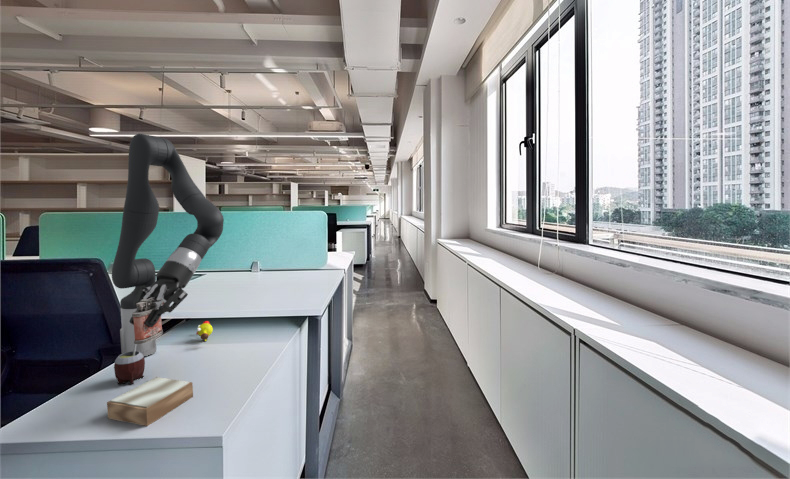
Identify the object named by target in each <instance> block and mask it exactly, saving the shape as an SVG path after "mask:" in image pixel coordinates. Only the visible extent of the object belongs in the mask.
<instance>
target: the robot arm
mask: <svg viewBox="0 0 790 479" xmlns="http://www.w3.org/2000/svg"><path fill="white" fill-rule="evenodd" d="M150 166H153V167H154V166H156V167H162V168H163V169H164V170H165V171H167V172H168V174H169V175H170V178H171V184H170V185H171V187H170V188H171V192H172V194H173V197H174V198H175V199H176V201H177V202H178V204H179V205H180V206H181V208H182V209H183V210H184V211H185V212H186V213H187V214H189V215H190V216H194V218H195V220H196V222H197V223H196V224H197V227H196V228H195V230H194V232H193V233H189V234H187V235H186V236H185V237H184V238H183V239H182V240H181V242H180V243H179V245H178V246H177V247H176V249H175V250H174V251H173V252H172V253H171V254H170V255H169V257H168V258H167V259H166V261H165V262H164V263H163V264H162V266H161V268H160V269H159V270H158V272H157V273H156V269H155V265H154V263H153V261H152V260H151V259H149V258H146V257H145V258H144V257H143V258H136V256H137V253H138V251H139V249H140V247H141V246H142V245H143V244H144V242H146V240H147V239H148V238H149V236H151V235H152V233H153V231H154V230H155V229H156V227H157V224H158V219H159V213H160V211H159V210H160V204H159V202H158V199H157V197H156V195H155V193H154V191H153V189H152V187H151V184H150V181H149V174H150V173H149V172H150V171H149V170H150ZM127 170H128V173H127V185H126V195H125V199H124V205H123V211H122V216H121V217H122V219H121V229H120V235H119V239H118V245H117V249H116V253H115V256H114V260H113V263H112V264H113V265H112V268H111V280H112V284H113V285H114V286H115V287H116V288H117V289H120V290H121V289H129V288H133V290H132V291H131V292H130V293H129V294H127V295H126V296H124V297H122V298H121V299H120V305H119V306H120V319H121V320H120V322H121V328H120V329H119V334H120V335H119V336H120V349H121V352H120V353H121V354H123V353H126V352H131V351H133V350H134V340H135V333H134V319H133V317H132V313H133V312H135V311H137V310H138V309H137V303H139V302H140V301H141V300H142V299H149V298H151V297H155V298H157V302H155V303H153V304H154V305H156V306H155V310H152V312H151V313H150V315H149V316H148V318H147V319H146V320H145V322H144V324H145V325H146V326H148V327H153V326H154V325H155V324H156V322H157V321H158V319H159V318H160V316H161V317H162V315H165V314H166V313H168V314H169V313H170V314H171V313H172V312H173V311H174V310H175V309H176V308H177V307H178V306H179V305H180V304H181V303H182V302H183V301H184V300H185V299H186V298H187V296H188V293H187V291H185V290H184V289H185V288H186V286H187V285H188V283H190V280H191V279H192V278H193V276H194V275H195V273H196V271H197V270H198V268H199V267H200V265H201V262H202V261H203V259H204V257H205V256H206V254H207V252H208V251H209V249H210V248H211V247H212V246H214V245H215V243H216V242H217V241H218V240H219V239H220V237H221V235H222V233H223V230H224V221H225V220H224V215H223V213H222V211H221V210H220V208H218V207H217V206H216V204H214V203H213V202H212V201H210V200H208V199H207V198H206V196H205V195H204V194H203V192H202V191H201V189H199V187H198V186H197V184H196V183H195V182H194V180H193V179H192V177H191V175H190V173H189V172H188V170H187V168H186V166H185V164H184V162H183V160H182V158H181V157H180V154H179V153H178V150H177V148H176V147H175V145H174V144H173V142H171V141H170V140H169V139H167V138H164V137H161V136H160V137H159V136H155V135H151V134H146V133H137V134H134V135H133V137H132V138H131V140H130V143H129V148H128V168H127ZM156 350H157V338H155V339H153V340H151V341H149V342H146V343H144V344H137V345H136V351H138V352H140V353H142V354H143V356H147V357H149V356H148V355H150V354H152V355H153V353H154V354H155V353H157V351H156ZM150 356H151V355H150Z"/></svg>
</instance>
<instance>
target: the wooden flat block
mask: <svg viewBox="0 0 790 479" xmlns="http://www.w3.org/2000/svg"><path fill="white" fill-rule="evenodd" d="M193 386H194V385H193V382H192V381H191V382H190V381H185V380H179V379H178V380H177V379H172V378H165V377H160V376H159V377H158V376H156V377H154V378H152V379H150V380H148V381H146V382H144V383H142V384H139V385H138V386H136V387H133V388H132V389H130V390H129V391H126V392H124V393H123V394H120V395H118V396H116V397H114V398H113V399H111V400H109V401H107V402H106V408H107V419H110V420H114V421H120V422H125V423H131V424H136V425H138V426H139V425H140V426H146V427H149V426H150V425H151V424H153V423H155V422H156V421H158V420H159V419H161V418H162V417H164V416H166V415H167V414H168V413H170V412H172V411H173V410H175V409H176V408H178V407H179V406H182V405H183V404H184V403H186V402H188V401H189V400H191V399H192V398H194V390H193V388H194V387H193Z"/></svg>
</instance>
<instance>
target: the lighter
mask: <svg viewBox="0 0 790 479" xmlns="http://www.w3.org/2000/svg"><path fill="white" fill-rule="evenodd" d="M155 302H157V298H155V297H151V298H149V299H142V300H141V301H140V302H139V303H137V309H138V310H137V311H135V312H133V313H132V317H133V319H134V333H135V340H134V344H144V343H146V342H149V341H151V340H153V339H155V338H156V339H157V338H159V337H161V336H162V335H163V334H164V331H163V330H164V329H163V327H162V324H163V323H162V315H161V316H160V318H159V319H158V321H157V322H156V324H155V325H154V326H153V327H148V326H146V325H145V324H144V322H145V320H146V319H147V318H148V316H149V315H150V313H151V312H152V310H155V306H156V305H154V304H153V303H155Z"/></svg>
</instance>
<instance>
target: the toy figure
mask: <svg viewBox="0 0 790 479" xmlns="http://www.w3.org/2000/svg"><path fill="white" fill-rule="evenodd" d="M196 330H197V331H196V335H197V336H198V337H200V339H201V340H202V342H207V341H208V339H209V336H210V335H212V333H213V330H214V329H213V326H212V325H211V322H210V321H209V320H205V321H202V324H199V325H198V326H197V329H196Z"/></svg>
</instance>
